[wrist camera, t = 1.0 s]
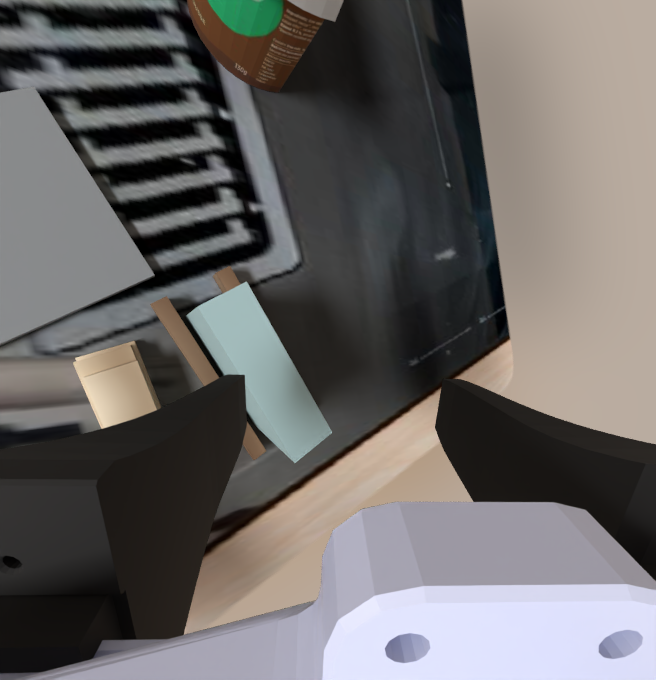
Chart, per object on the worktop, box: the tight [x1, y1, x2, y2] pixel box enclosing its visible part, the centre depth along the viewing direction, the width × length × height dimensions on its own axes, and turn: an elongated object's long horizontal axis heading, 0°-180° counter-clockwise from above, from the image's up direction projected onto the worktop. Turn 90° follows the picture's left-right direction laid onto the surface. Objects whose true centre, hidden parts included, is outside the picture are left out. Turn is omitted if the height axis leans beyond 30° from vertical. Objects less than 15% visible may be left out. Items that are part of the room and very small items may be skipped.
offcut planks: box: [73, 341, 161, 429], centre depth 19 cm, size 3×10×3 cm, turn 19°
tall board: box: [185, 282, 332, 463], centre depth 19 cm, size 2×9×8 cm, turn 31°
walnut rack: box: [150, 266, 266, 460], centre depth 22 cm, size 5×12×2 cm, turn 31°
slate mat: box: [0, 87, 155, 346], centre depth 17 cm, size 9×11×1 cm
